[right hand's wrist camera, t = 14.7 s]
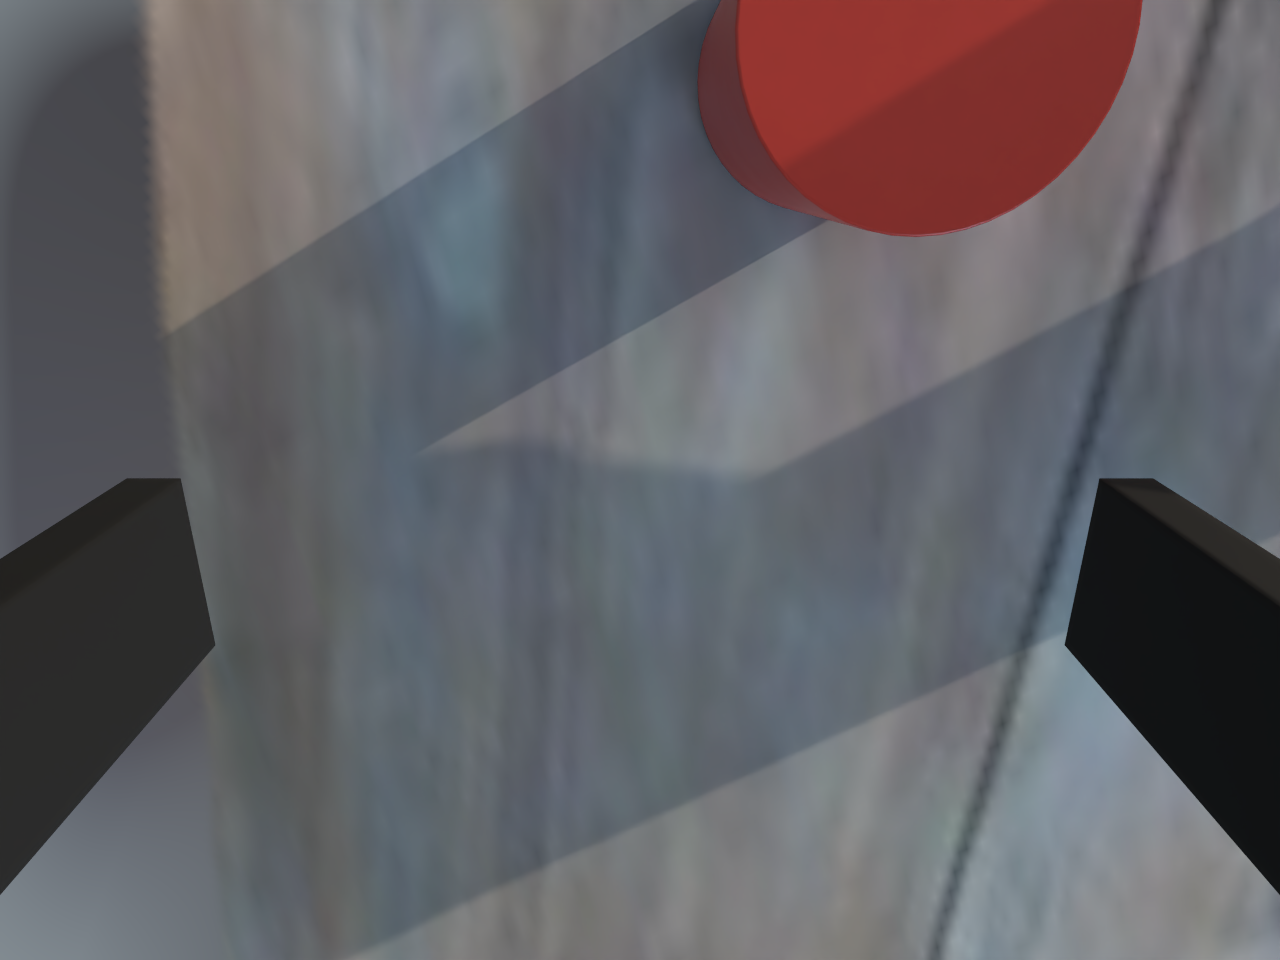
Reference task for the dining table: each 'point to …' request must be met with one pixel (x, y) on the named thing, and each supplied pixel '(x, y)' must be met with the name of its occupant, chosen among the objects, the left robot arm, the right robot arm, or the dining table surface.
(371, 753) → the dining table surface
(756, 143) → the canister
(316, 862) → the dining table surface
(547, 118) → the dining table surface
